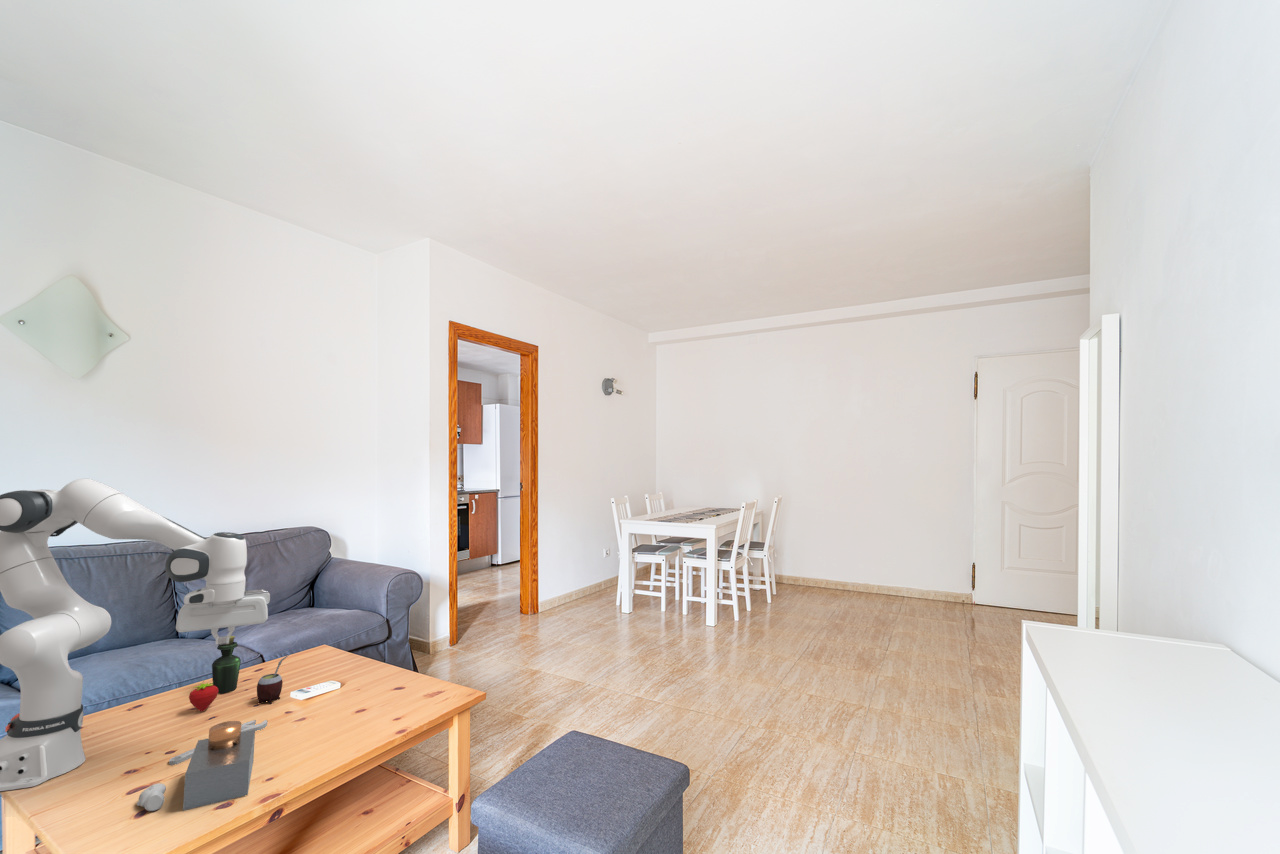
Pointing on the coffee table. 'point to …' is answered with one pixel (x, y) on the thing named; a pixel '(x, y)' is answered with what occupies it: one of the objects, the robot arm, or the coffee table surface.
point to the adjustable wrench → (187, 755)
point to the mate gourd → (270, 686)
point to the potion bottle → (226, 668)
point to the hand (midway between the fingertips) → (222, 644)
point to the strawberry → (203, 696)
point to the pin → (224, 735)
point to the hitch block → (219, 772)
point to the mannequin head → (152, 797)
